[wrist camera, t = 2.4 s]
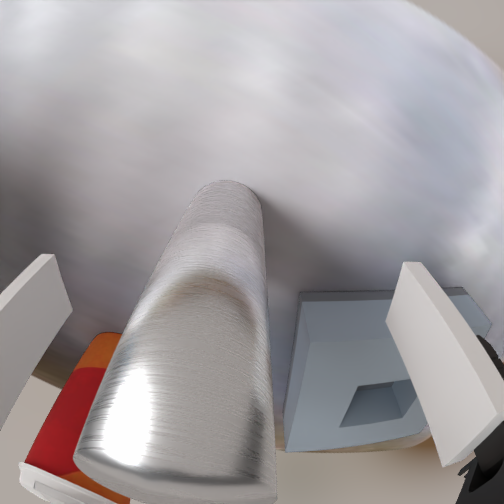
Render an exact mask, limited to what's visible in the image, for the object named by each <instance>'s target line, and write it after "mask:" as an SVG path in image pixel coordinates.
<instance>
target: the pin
mask: <svg viewBox="0 0 504 504" xmlns="http://www.w3.org/2000/svg"><path fill="white" fill-rule="evenodd" d="M73 461H74V463H75V464H76V466H77V467H78V468H79V469H80V470H81V471H82V472H83V473H84V474H86V475H87V476H88V477H90V478H91V479H93V480H94V481H96V482H97V483H99V484H101V485H102V486H104V487H106V488H108V489H110V490H112V491H114V492H116V493H119V494H121V495H123V496H126V497H128V498H131V499H134V500H137V501H140V502H143V503H146V504H273V503H274V502H275V501H276V500H277V477H276V453H275V429H274V407H273V387H272V367H271V348H270V330H269V313H268V296H267V279H266V263H265V247H264V232H263V217H262V208H261V205H260V202H259V200H258V198H257V197H256V195H255V194H254V193H253V192H252V191H251V190H250V189H249V188H247V187H246V186H244V185H242V184H240V183H237V182H234V181H227V180H223V181H216V182H213V183H210V184H208V185H206V186H204V187H203V188H202V189H201V190H199V191H198V193H197V194H196V195H195V197H194V198H193V200H192V202H191V203H190V205H189V207H188V209H187V210H186V212H185V214H184V216H183V217H182V219H181V221H180V223H179V224H178V226H177V228H176V230H175V232H174V233H173V235H172V237H171V239H170V241H169V242H168V244H167V246H166V248H165V250H164V252H163V254H162V255H161V257H160V259H159V261H158V263H157V265H156V267H155V269H154V271H153V273H152V275H151V276H150V278H149V280H148V282H147V284H146V286H145V288H144V290H143V292H142V294H141V296H140V298H139V300H138V302H137V304H136V306H135V309H134V311H133V313H132V315H131V317H130V319H129V321H128V323H127V325H126V327H125V330H124V332H123V334H122V336H121V338H120V340H119V343H118V345H117V347H116V349H115V351H114V354H113V356H112V358H111V361H110V363H109V365H108V367H107V370H106V372H105V374H104V377H103V379H102V382H101V384H100V386H99V389H98V391H97V394H96V396H95V399H94V401H93V404H92V406H91V409H90V411H89V414H88V417H87V419H86V422H85V424H84V427H83V430H82V433H81V435H80V438H79V441H78V444H77V446H76V449H75V452H74V455H73Z"/></svg>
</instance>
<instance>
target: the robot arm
mask: <svg viewBox="0 0 504 504" xmlns="http://www.w3.org/2000/svg"><path fill="white" fill-rule="evenodd" d="M72 311H73V309H72V306H71V303H70V300H69V298H68V295H67V292H66V289H65V286H64V283H63V280H62V277H61V274H60V271H59V267H58V264H57V261H56V257H55V254H41V255H40V256H39V257H37V258H36V259H35V260H34V261H33V262H32V263H31V264H30V265H29V266H28V267H27V268H26V269H25V270H24V271H23V272H22V273H21V274H20V275H19V276H18V277H17V278H16V279H15V280H14V281H13V282H12V283H11V284H10V285H9V286H8V287H7V288H6V289H5V290H4V291H3V292H2V293H1V294H0V431H1V429H2V427H3V425H4V423H5V421H6V419H7V417H8V415H9V413H10V411H11V409H12V407H13V406H14V404H15V402H16V400H17V398H18V396H19V395H20V393H21V391H22V389H23V387H24V386H25V384H26V382H27V381H28V379H29V377H30V375H31V374H32V372H33V371H34V369H35V367H36V366H37V364H38V362H39V361H40V359H41V358H42V356H43V354H44V353H45V351H46V350H47V348H48V347H49V345H50V343H51V342H52V340H53V339H54V337H55V336H56V334H57V333H58V331H59V330H60V328H61V327H62V325H63V324H64V322H65V321H66V320H67V318H68V317H69V315H70V314H71V312H72ZM385 322H386V324H387V326H388V328H389V330H390V332H391V335H392V337H393V339H394V341H395V344H396V346H397V348H398V350H399V353H400V355H401V357H402V359H403V362H404V364H405V366H406V369H407V371H408V374H409V376H410V378H411V381H412V383H413V386H414V388H415V391H416V393H417V396H418V398H419V401H420V404H421V406H422V409H423V412H424V414H425V417H426V420H427V422H428V425H429V428H430V431H431V434H432V436H433V439H434V442H435V445H436V448H437V451H438V454H439V457H440V460H441V464H442V467H445V466H448V465H451V464H454V463H456V462H459V461H461V460H463V459H464V458H466V457H467V456H468V455H469V454H470V453H471V452H472V451H473V450H474V452H475V455H476V457H475V458H474V459H473V460H472V461H470V462H469V463H468V464H467V465H466V466H464V467H463V468H462V469H461V470H460V472H459V473H458V475H459V476H461V475H462V474H463V473H465V472H466V471H467V470H468V469H469V471H468V473H467V474H466V475H465V476H464V477H465V478H466V479H465V482H464V484H463V487H462V489H461V492H460V494H459V497H458V499H457V502H456V504H504V364H503V363H502V361H501V360H500V359H498V355H497V353H496V352H495V350H494V349H493V347H492V346H491V344H489V343H488V342H487V341H486V340H485V339H484V338H483V337H481V336H480V335H475V334H474V333H473V331H472V330H471V328H470V327H469V325H468V324H467V322H466V321H465V319H464V318H463V317H462V315H461V314H460V312H459V311H458V310H457V308H456V307H455V306H454V304H453V303H452V302H451V300H450V299H449V297H448V296H447V295H446V294H445V292H444V291H443V290H442V288H441V287H440V286H439V284H438V283H437V282H436V281H435V279H434V278H433V277H432V276H431V274H430V273H429V272H428V271H427V269H426V268H425V267H424V266H423V264H422V263H421V262H403V265H402V268H401V272H400V276H399V279H398V283H397V286H396V290H395V293H394V296H393V299H392V303H391V306H390V309H389V312H388V315H387V318H386V321H385Z"/></svg>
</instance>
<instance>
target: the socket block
mask: <svg viewBox="0 0 504 504" xmlns="http://www.w3.org/2000/svg"><path fill="white" fill-rule="evenodd" d="M442 290H443V291H444V292H445V294H446V295H447V296H448V297H449V299H450V300H451V302H452V303H453V304H454V306H455V307H456V308H457V310H458V311H459V312H460V314H461V315H462V317H463V318H464V319H465V321H466V322H467V324H468V325H469V327H470V328H471V330H472V331H473V333H474V334H475V335H480V336H481V337H483V338H485V337H486V335H487V333H488V331H489V329H490V327H491V325H492V323H491V322H490V321H489V319H488V318H487V317H486V315H485V314H484V313H483V312H482V310H481V309H480V308H479V307H478V305H477V304H476V303H475V302H474V300H473V299H472V298H471V297H470V295H469V294H468V293H467V292H466V291H465V289H464V288H463V287H457V288H442ZM394 293H395V290H390V291H351V292H300V297H299V305H298V313H297V320H296V328H295V335H294V342H293V349H292V356H291V363H290V370H289V376H288V382H287V389H286V395H285V401H284V407H283V424H284V440H285V452H304V451H317V450H327V449H336V448H344V447H352V446H359V445H365V444H371V443H377V442H382V441H387V440H392V439H397V438H401V437H406V436H410V435H414V434H418V433H420V432H421V431H422V429H423V428H424V427H425V426H426V424H427V423H428V422H427V420H426V417H425V414H424V412H423V409H422V406H421V404H420V401H419V398H418V396H417V393H416V391H415V388H414V386H413V383H412V381H411V378H410V376H409V374H408V371H407V369H406V366H405V364H404V362H403V359H402V357H401V355H400V353H399V350H398V348H397V346H396V344H395V341H394V339H393V337H392V335H391V332H390V330H389V328H388V326H387V324H386V322H385V321H386V318H387V315H388V312H389V309H390V306H391V303H392V299H393V296H394Z"/></svg>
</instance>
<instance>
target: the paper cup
mask: <svg viewBox="0 0 504 504" xmlns="http://www.w3.org/2000/svg"><path fill="white" fill-rule="evenodd" d="M121 336H122V334H119V333H114V332H105V333H101V334H99V335H97V336H96V337H95V338H94V339H93V341H92V342H91V343H90V345H89V346H88V348H87V349H86V351H85V352H84V354H83V356H82V357H81V359H80V360H79V362H78V364H77V365H76V367H75V369H74V370H73V372H72V373H71V375H70V377H69V379H68V380H67V382H66V384H65V385H64V387H63V389H62V391H61V392H60V394H59V396H58V398H57V399H56V401H55V403H54V405H53V407H52V409H51V410H50V412H49V414H48V416H47V418H46V420H45V422H44V424H43V426H42V427H41V429H40V431H39V433H38V435H37V437H36V439H35V441H34V443H33V445H32V447H31V449H30V451H29V454H28V455H27V458H26V460H25V462H24V463H23V462H19V463H18V464H19V468H20V469H21V474H20V479H19V481H20V484H21V485H22V486H23V487H24V488H25V489H27V490H28V491H30V492H32V493H33V494H35V495H36V496H38V497H40V498H42V499H43V500H45V501H47V502H48V501H50V503H52V504H130V498H128V497H126V496H123V495H121V494H119V493H116V492H114V491H112V490H110V489H108V488H106V487H104V486H102V485H101V484H99V483H97V482H96V481H94V480H93V479H91V478H90V477H88V476H87V475H86V474H84V473H83V472H82V471H81V470H80V469H79V468H78V467H77V466H76V464H75V463H74V461H73V455H74V452H75V449H76V446H77V444H78V441H79V438H80V435H81V433H82V430H83V427H84V424H85V422H86V419H87V417H88V414H89V411H90V409H91V406H92V404H93V401H94V399H95V396H96V394H97V391H98V389H99V386H100V384H101V382H102V379H103V377H104V374H105V372H106V370H107V367H108V365H109V363H110V361H111V358H112V356H113V354H114V351H115V349H116V347H117V345H118V343H119V340H120V338H121Z"/></svg>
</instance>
